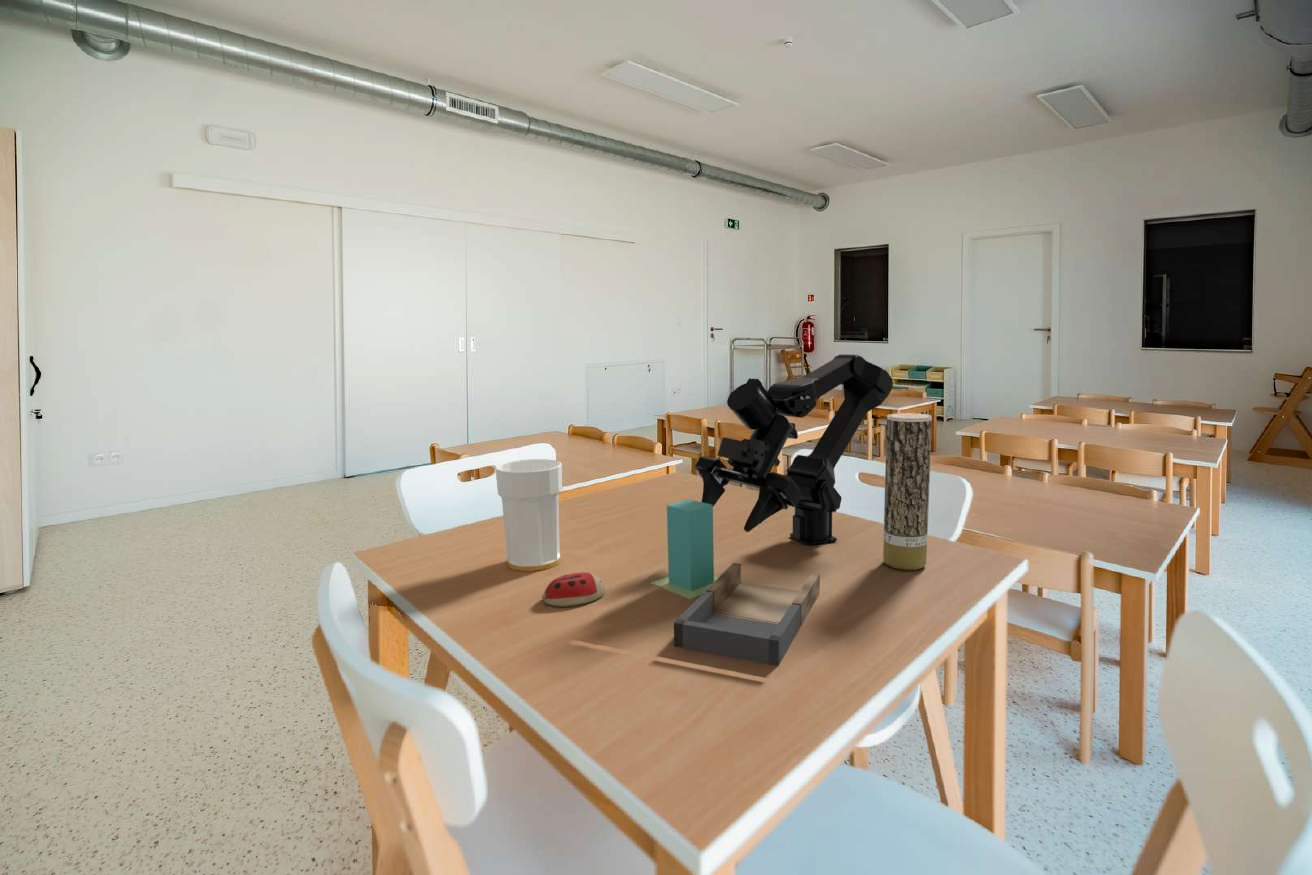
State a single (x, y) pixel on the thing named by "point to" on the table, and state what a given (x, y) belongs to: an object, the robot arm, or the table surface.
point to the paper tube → (907, 490)
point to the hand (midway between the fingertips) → (722, 523)
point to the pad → (681, 591)
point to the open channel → (760, 597)
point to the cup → (531, 512)
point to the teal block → (690, 544)
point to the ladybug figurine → (574, 590)
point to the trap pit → (735, 633)
